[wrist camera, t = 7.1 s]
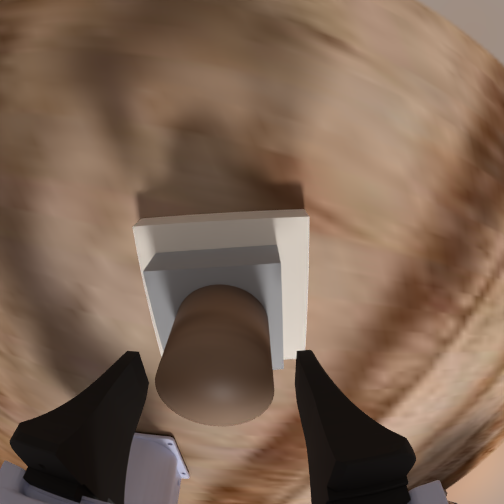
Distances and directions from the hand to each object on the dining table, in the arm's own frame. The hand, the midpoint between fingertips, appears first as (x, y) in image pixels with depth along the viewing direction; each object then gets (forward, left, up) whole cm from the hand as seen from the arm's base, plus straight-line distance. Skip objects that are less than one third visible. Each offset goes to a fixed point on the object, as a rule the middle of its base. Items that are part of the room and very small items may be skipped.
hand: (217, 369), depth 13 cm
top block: (0, 0, -6) cm, 6 cm away
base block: (0, 0, -9) cm, 9 cm away
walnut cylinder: (0, 0, -4) cm, 4 cm away
